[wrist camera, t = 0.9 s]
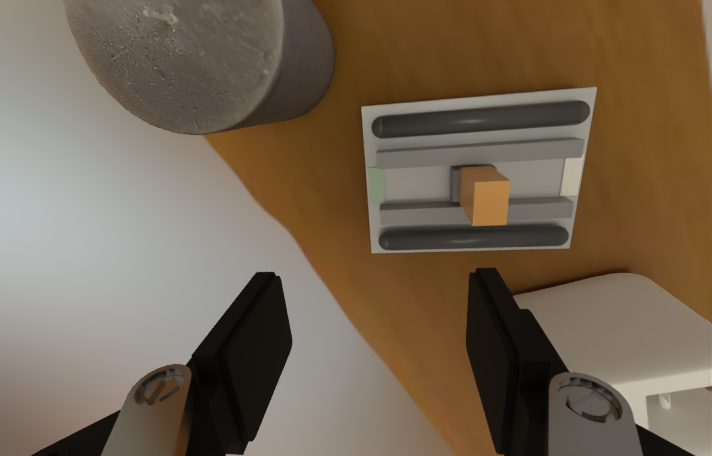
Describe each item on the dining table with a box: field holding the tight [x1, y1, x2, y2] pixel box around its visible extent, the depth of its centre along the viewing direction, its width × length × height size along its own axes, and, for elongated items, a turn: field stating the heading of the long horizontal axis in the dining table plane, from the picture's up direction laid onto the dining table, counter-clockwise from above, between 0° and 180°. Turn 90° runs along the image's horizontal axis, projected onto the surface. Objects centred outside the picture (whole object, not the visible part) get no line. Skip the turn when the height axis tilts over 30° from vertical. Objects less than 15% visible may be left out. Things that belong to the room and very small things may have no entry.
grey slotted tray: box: [361, 87, 597, 253], centre depth 26 cm, size 12×16×5 cm
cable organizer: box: [513, 273, 712, 456], centre depth 27 cm, size 15×11×12 cm
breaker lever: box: [450, 164, 510, 226], centre depth 23 cm, size 3×3×6 cm
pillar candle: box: [63, 0, 334, 135], centre depth 19 cm, size 10×10×15 cm
